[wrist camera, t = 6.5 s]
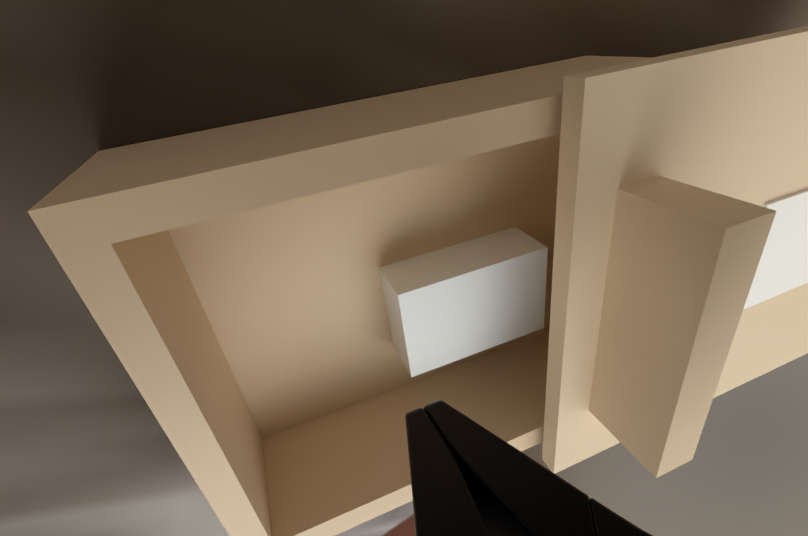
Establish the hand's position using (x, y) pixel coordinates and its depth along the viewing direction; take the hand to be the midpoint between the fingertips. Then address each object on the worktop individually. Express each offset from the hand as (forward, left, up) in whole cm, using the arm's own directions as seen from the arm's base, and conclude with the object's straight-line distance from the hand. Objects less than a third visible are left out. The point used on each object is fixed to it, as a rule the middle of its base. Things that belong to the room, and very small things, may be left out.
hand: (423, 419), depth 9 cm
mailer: (+2, 0, -6) cm, 6 cm away
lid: (+11, 0, -1) cm, 12 cm away
